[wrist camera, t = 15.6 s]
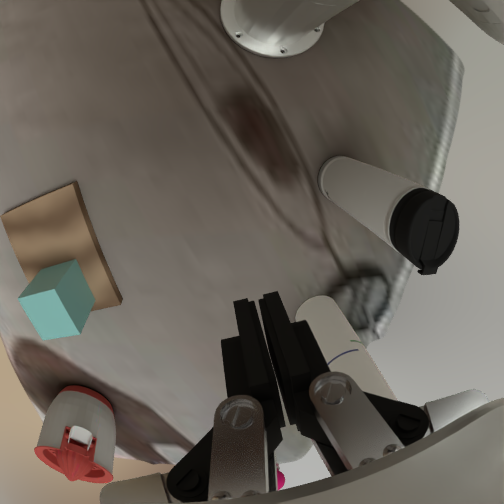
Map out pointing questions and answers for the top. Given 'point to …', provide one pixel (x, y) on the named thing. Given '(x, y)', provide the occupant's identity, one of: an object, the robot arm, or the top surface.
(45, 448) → the citrus juicer
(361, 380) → the cylindrical container
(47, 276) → the mint green cube
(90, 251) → the board
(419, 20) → the top surface
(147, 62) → the top surface
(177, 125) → the top surface
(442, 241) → the travel mug
